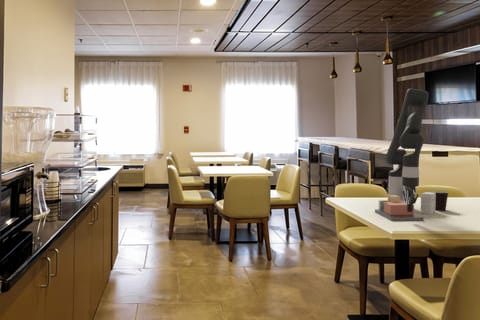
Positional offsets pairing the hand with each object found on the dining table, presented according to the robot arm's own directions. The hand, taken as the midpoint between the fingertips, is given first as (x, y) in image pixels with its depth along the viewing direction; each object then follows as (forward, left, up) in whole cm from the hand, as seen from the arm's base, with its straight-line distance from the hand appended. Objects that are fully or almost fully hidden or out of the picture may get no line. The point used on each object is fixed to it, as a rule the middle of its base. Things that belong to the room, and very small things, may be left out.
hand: (409, 211), depth 210 cm
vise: (-15, 0, -5) cm, 16 cm away
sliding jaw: (-14, 0, -3) cm, 14 cm away
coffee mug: (-32, +31, -5) cm, 45 cm away
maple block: (-21, 0, -3) cm, 22 cm away
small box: (-24, +20, -5) cm, 32 cm away
